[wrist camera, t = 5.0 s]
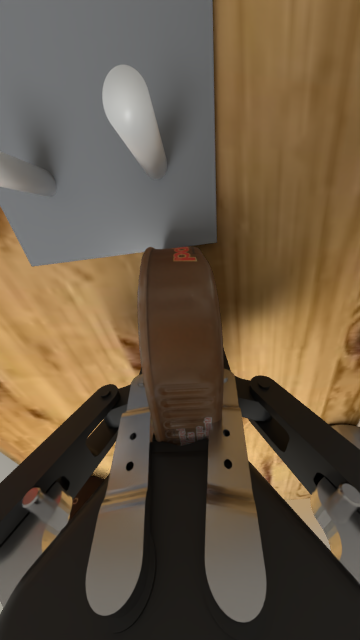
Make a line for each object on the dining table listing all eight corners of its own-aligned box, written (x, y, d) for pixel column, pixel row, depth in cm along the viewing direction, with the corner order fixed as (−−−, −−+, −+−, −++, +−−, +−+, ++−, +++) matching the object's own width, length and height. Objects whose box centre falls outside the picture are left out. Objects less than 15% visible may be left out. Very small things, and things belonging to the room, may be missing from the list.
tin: (157, 240, 11) (84, 270, 4) (207, 237, 11) (242, 261, 3) (176, 398, 18) (165, 518, 11) (206, 398, 18) (216, 521, 10)
